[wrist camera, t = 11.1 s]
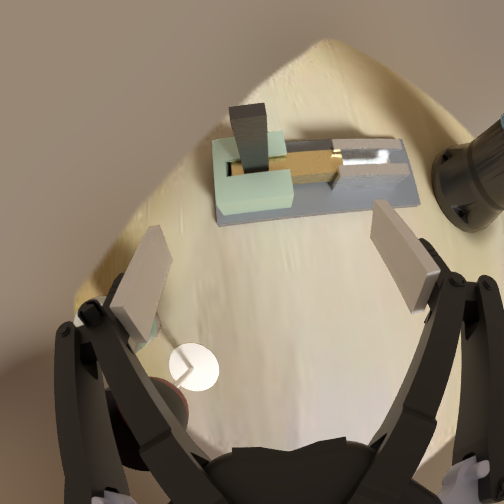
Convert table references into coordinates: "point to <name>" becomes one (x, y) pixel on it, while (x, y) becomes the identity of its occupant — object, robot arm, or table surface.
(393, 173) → the steel sleeve
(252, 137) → the sliding bolt with handle
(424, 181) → the table surface
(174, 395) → the wineglass
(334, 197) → the base board
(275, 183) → the socket block
